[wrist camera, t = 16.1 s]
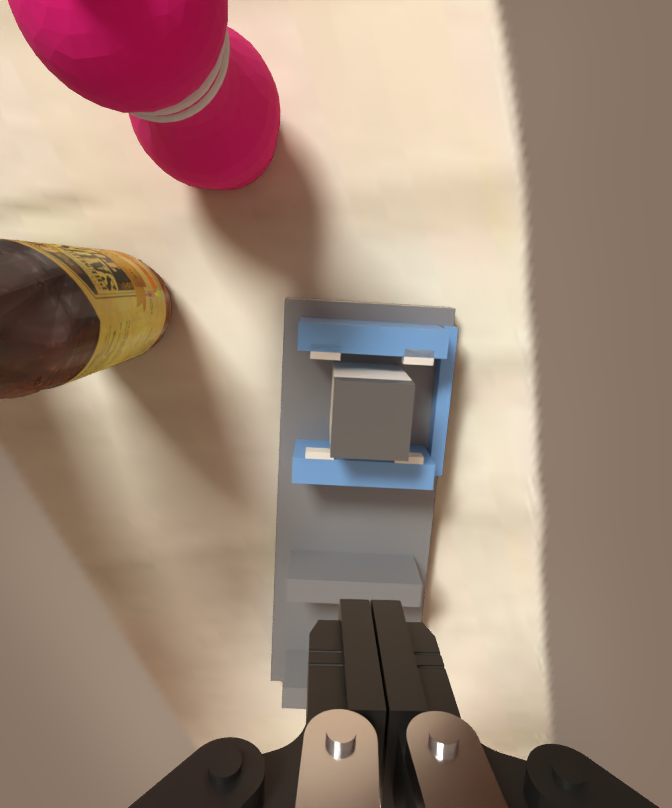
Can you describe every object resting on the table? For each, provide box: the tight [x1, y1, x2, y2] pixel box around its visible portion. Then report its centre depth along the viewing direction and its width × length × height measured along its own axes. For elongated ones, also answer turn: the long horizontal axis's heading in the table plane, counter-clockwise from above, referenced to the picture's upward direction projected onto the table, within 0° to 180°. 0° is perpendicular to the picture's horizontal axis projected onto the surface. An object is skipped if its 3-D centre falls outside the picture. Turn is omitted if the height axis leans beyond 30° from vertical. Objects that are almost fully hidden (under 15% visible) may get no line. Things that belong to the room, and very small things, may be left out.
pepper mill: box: [8, 0, 280, 190], centre depth 21 cm, size 7×7×20 cm
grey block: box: [329, 361, 415, 461], centre depth 30 cm, size 4×4×6 cm
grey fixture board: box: [271, 297, 458, 709], centre depth 34 cm, size 10×26×5 cm, turn 177°
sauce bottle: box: [0, 239, 172, 399], centre depth 24 cm, size 7×6×20 cm
